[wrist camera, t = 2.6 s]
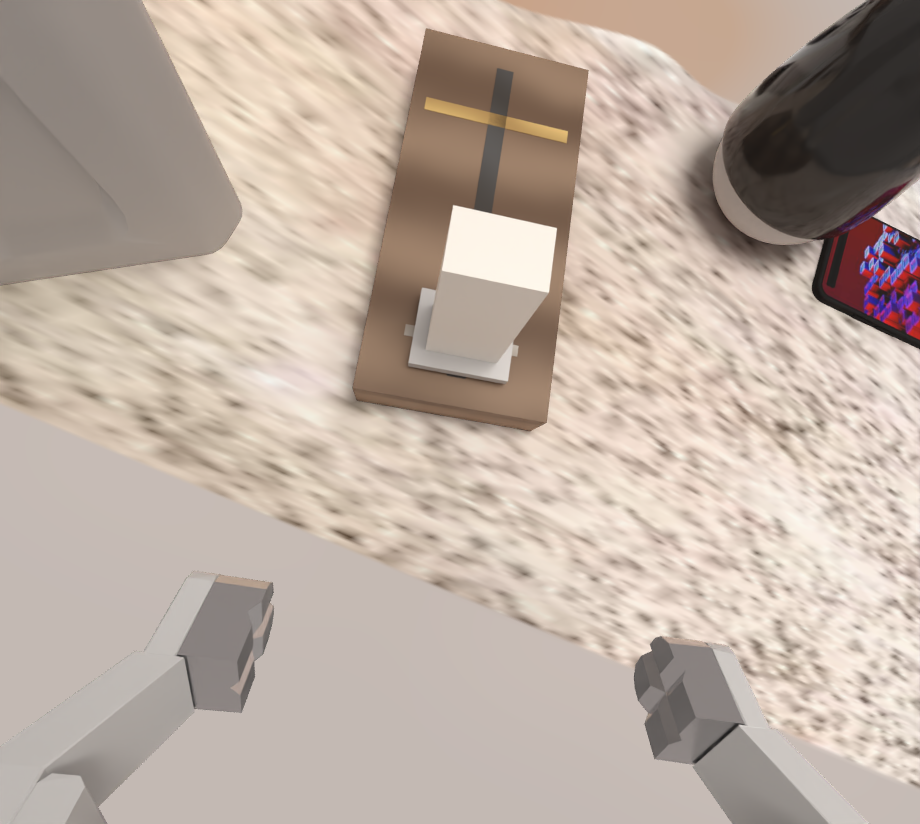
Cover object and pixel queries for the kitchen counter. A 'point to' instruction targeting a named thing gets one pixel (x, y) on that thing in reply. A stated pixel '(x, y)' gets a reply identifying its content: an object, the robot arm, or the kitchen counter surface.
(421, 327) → the fader tab
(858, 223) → the pump dispenser
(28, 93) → the grey box
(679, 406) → the kitchen counter surface
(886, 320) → the smartphone
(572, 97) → the board
